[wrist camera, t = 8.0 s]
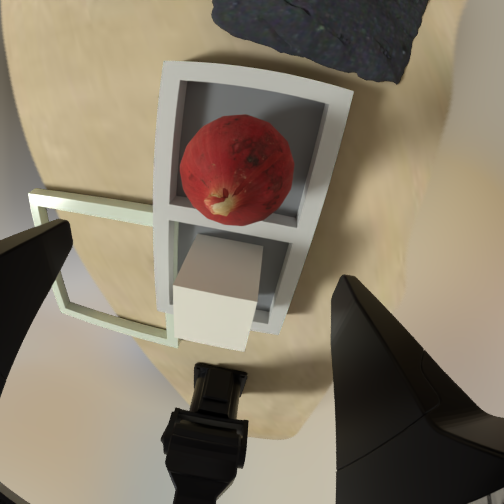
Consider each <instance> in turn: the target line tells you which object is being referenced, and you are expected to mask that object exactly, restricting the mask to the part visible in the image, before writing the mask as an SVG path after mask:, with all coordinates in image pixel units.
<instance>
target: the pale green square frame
mask: <svg viewBox="0 0 504 504" xmlns="http://www.w3.org/2000/svg"><path fill="white" fill-rule="evenodd" d="M28 195H29V201H30V206H31V212H32V217H33V222H34V225H35V227H36V226H39V225H42V224H45V223H48V222H49V220H48V215H47V209H46V207H47V208H53V209H58V210H64V211H69V212H75V213H81V214H86V215H92V216H97V217H103V218H108V219H114V220H119V221H124V222H130V223H135V224H141V225H146V226H152V227H153V205H148V204H142V203H136V202H130V201H123V200H117V199H110V198H104V197H97V196H90V195H83V194H76V193H69V192H61V191H54V190H46V189H38V188H35V189H34V190H32V191H31V192H29V193H28ZM178 231H179V222H177V221H174V259H173V283H174V282H175V279H176V277H177V274H178ZM52 289H53V292H54V295H55V298H56V300H57V303H58V306H59V309H60V311H61V312H62V313H64V314H67V315H69V316H73V317H75V318H78V319H80V320H83V321H86V322H89V323H92V324H95V325H98V326H101V327H104V328H107V329H110V330H113V331H117V332H120V333H123V334H126V335H130V336H133V337H137V338H140V339H144V340H147V341H151V342H155V343H158V344H162V345H166V346H170V347H174V348H179V344H180V341H181V339H179V338H175V337H174V315H173V314H169V313H165V316H166V330H163V329H159V328H155V327H152V326H148V325H144V324H140V323H137V322H133V321H129V320H126V319H123V318H119V317H116V316H112V315H109V314H106V313H103V312H99V311H96V310H93V309H90V308H87V307H84V306H81V305H78V304H75V303H72V302H70V300H69V297H68V294H67V291H66V288H65V284H64V281H63V278H62V275H61V271H60V272H59V274H58V276H57V278H56V280H55V282H54V284H53V285H52Z"/></svg>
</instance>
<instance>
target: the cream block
mask: <svg viewBox="0 0 504 504" xmlns="http://www.w3.org/2000/svg"><path fill="white" fill-rule="evenodd" d="M262 254H263V246H260V245H255V244H249V243H244V242H239V241H234V240H229V239H223V238H218V237H213V236H207V235H202V234H197V236H196V238H195V240H194V242H193V244H192V246H191V248H190V250H189V252H188V254H187V256H186V258H185V260H184V262H183V264H182V267H181V269H180V271H179V273H178V275H177V277H176V279H175V282H174V284H173V312H174V337H175V338H179V339H184V340H188V341H192V342H197V343H202V344H206V345H211V346H216V347H221V348H226V349H232V350H237V351H243V352H244V351H245V348H246V344H247V340H248V336H249V332H250V329H251V325H252V321H253V317H254V313H255V309H256V305H257V301H258V292H259V282H260V273H261V263H262Z"/></svg>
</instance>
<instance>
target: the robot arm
mask: <svg viewBox="0 0 504 504" xmlns="http://www.w3.org/2000/svg"><path fill="white" fill-rule="evenodd" d="M72 245H73V239H72V234H71V228H70V223H69V222H68V221H67V220H63V219H56V220H53V221H51V222H48V223H45V224H42V225H39V226H36V227H34V228H31V229H28V230H26V231H23V232H20V233H18V234H15V235H12V236H10V237H8V238H5V239H3V240H0V397H1V394H2V391H3V388H4V385H5V383H6V379H7V377H8V375H9V372H10V369H11V367H12V365H13V362H14V360H15V358H16V355H17V353H18V351H19V349H20V346H21V344H22V342H23V340H24V338H25V336H26V334H27V332H28V330H29V328H30V325H31V324H32V322H33V319H34V318H35V316H36V314H37V312H38V310H39V308H40V307H41V305H42V303H43V301H44V299H45V298H46V296H47V294H48V292H49V291H50V289H51V287H52V285H53V284H54V282H55V280H56V278H57V276H58V274H59V272H60V270H61V268H62V266H63V264H64V262H65V260H66V258H67V256H68V254H69V252H70V250H71V248H72ZM331 355H332V368H333V382H334V398H335V418H336V419H335V420H336V460H337V461H336V466H337V467H336V469H337V472H336V504H504V418H501V417H496V416H493V415H490V414H488V413H486V412H484V411H483V410H482V409H480V408H479V407H478V406H477V405H476V404H475V403H474V402H473V401H472V400H471V399H470V397H469V396H468V395H467V394H466V393H465V392H464V391H463V390H462V389H461V388H460V387H459V386H458V385H457V384H456V383H455V382H454V381H453V380H452V379H451V378H450V377H449V376H448V375H447V374H446V373H445V372H444V371H443V370H442V369H441V368H440V367H439V365H438V364H437V363H436V362H435V361H434V360H433V359H432V358H431V356H430V355H429V354H428V353H427V352H426V351H425V350H424V351H423V347H422V346H421V345H420V344H419V343H418V342H417V341H416V340H415V339H414V337H413V336H412V335H411V334H410V333H409V332H408V331H407V330H406V329H405V328H404V327H403V326H402V324H401V323H399V321H398V320H397V319H396V318H395V317H394V316H393V315H392V314H391V313H390V312H389V311H388V310H387V309H386V307H385V306H384V305H383V304H382V303H381V302H380V301H379V300H378V299H377V298H376V297H375V296H374V295H373V294H372V293H371V292H370V291H369V290H368V289H367V288H366V287H365V286H364V285H363V284H362V283H361V282H360V281H359V280H358V279H357V278H356V277H355V276H350V275H345V274H344V275H342V276H341V277H340V279H339V282H338V284H337V286H336V288H335V290H334V293H333V295H332V299H331ZM246 379H247V373H245V372H239V371H234V370H228V369H223V368H218V367H213V366H208V365H203V364H198V363H197V364H195V367H194V393H193V397H192V402H191V406H190V411H186V410H182V409H180V408H175V411H174V412H172V413H171V417H170V420H169V423H168V425H167V427H166V429H165V431H164V433H163V435H162V437H161V442H162V443H163V447H164V454H166V455H167V456H166V461H165V464H166V467H167V470H168V472H169V475H170V477H171V480H172V482H173V485H174V487H175V490H176V491H175V497H174V501H173V504H216V500H217V499H218V498H219V497H220V496H221V495H222V494H223V493H224V492H225V491H226V490H227V489H228V488H229V487H230V486H231V485H232V483H233V481H234V479H235V477H236V474H237V468H241V469H242V468H243V466H244V462H245V456H246V448H247V435H248V421H249V420H237V419H236V418H237V411H238V403H239V397H241V394H242V391H243V388H244V385H245V382H246ZM0 504H30V503H28V502H27V501H25V500H24V499H22V498H21V497H19V496H18V495H17V494H15V493H14V492H13V491H11V490H10V489H9V488H7V487H6V486H5V485H3V484H2V483H1V482H0Z"/></svg>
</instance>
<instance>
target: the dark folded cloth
mask: <svg viewBox="0 0 504 504" xmlns="http://www.w3.org/2000/svg"><path fill="white" fill-rule="evenodd" d="M427 2H428V0H212V3H213V6H214V8H213V10H212V14H211V15H212V19H213V21H214V23H215V24H217V25H218V26H219V27H220V28H222V29H223V30H225V31H227V32H228V33H230V34H231V35H232V36H234V37H237V38H241V39H244V40H250V41H253V42H255V43H258V44H262V45H265V46H268V47H271V48H273V49H275V50H277V51H278V52H280V53H287V54H289V55H294V56H300V57H306V58H307V59H310V60H312V61H314V62H316V63H318V64H321V65H323V66H326V67H328V68H333V69H336V70H339V71H344V72H347V73H351V72H355V73H357V75H358V77H360V78H362V79H364V80H372V81H375V82H382V81H390V82H394V83H396V84H398V83H399V82H400V79H401V76H402V75H403V73H404V69H405V67H406V66H407V64H408V62H409V59H410V55H411V49H412V41H413V39H414V38H415V37H416V36H417V34H418V28H419V27H420V25H421V22H422V16H423V14H424V12H425V9H426V5H427Z"/></svg>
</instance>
